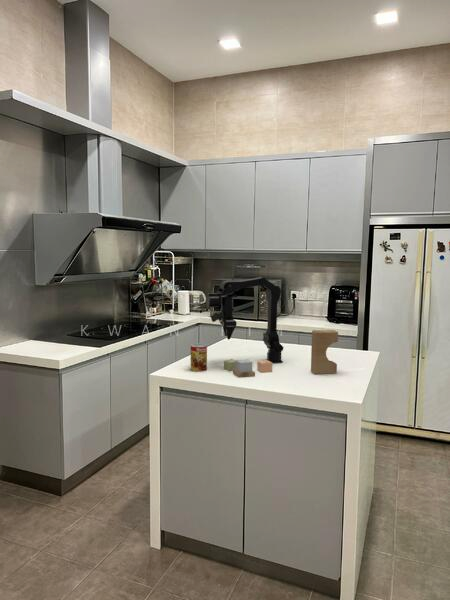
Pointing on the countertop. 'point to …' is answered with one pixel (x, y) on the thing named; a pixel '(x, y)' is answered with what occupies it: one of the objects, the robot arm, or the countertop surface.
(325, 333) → the decorative block
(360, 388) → the countertop surface
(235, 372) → the walnut slab
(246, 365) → the grey block
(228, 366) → the olive block
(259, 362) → the terracotta block
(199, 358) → the canned food
